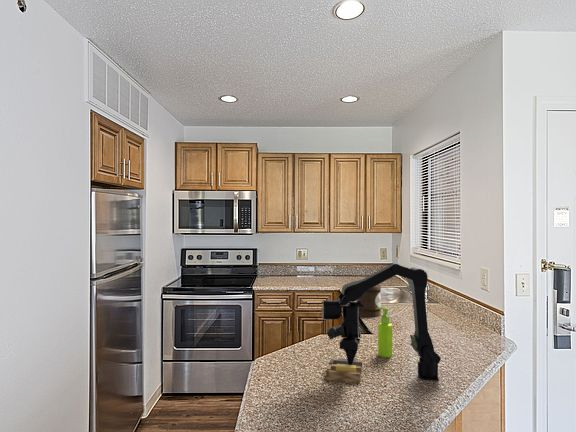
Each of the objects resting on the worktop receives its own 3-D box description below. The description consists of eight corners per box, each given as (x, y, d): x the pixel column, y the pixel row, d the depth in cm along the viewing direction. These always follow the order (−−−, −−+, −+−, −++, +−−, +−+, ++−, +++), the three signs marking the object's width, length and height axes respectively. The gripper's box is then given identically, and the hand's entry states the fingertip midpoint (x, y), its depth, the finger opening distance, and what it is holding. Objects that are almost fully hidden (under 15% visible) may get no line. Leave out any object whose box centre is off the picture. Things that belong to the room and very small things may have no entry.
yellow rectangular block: (356, 374, 151) (356, 365, 151) (355, 377, 148) (355, 368, 148) (336, 372, 153) (336, 363, 153) (336, 375, 150) (336, 366, 150)
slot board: (362, 369, 159) (362, 360, 159) (360, 382, 146) (360, 373, 146) (331, 366, 162) (331, 357, 162) (326, 379, 148) (326, 370, 149)
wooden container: (383, 317, 248) (383, 280, 248) (358, 317, 248) (358, 280, 248) (378, 311, 263) (378, 277, 263) (354, 311, 263) (354, 276, 263)
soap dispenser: (379, 351, 181) (379, 305, 182) (394, 354, 177) (394, 307, 177) (373, 354, 177) (373, 307, 177) (388, 358, 172) (388, 309, 173)
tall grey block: (356, 367, 158) (356, 359, 158) (356, 370, 155) (356, 361, 155) (338, 366, 159) (338, 358, 159) (337, 369, 156) (337, 360, 156)
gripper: (331, 312, 162) (332, 352, 162) (324, 324, 144) (325, 369, 144) (360, 313, 160) (361, 354, 159) (357, 325, 141) (357, 371, 141)
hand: (350, 362), depth 151 cm, fingers open, 6 cm apart
